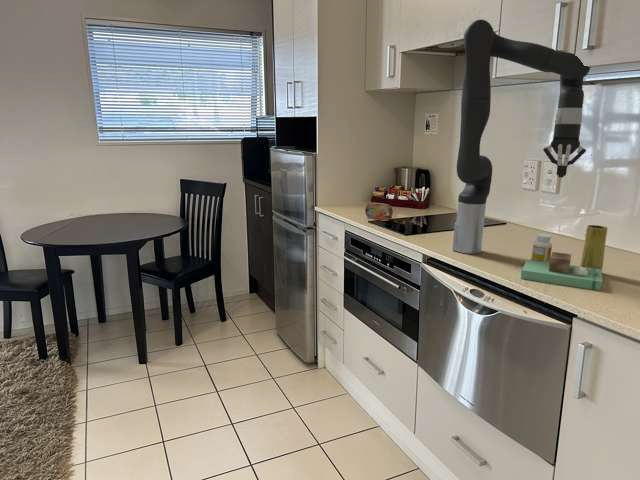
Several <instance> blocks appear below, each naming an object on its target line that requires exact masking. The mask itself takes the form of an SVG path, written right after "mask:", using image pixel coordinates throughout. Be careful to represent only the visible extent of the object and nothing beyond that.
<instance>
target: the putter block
mask: <svg viewBox="0 0 640 480" xmlns="http://www.w3.org/2000/svg"><path fill="white" fill-rule="evenodd" d="M571 260H572V254H571V253H564V252H558V251H557V252H556V251H551V258H550V265H549V271H550V272H557V273H564V274H568V273H569V267H570V265H571Z"/></svg>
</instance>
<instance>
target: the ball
mask: <svg viewBox="0 0 640 480" xmlns="http://www.w3.org/2000/svg"><path fill="white" fill-rule="evenodd" d="M572 273H573V274H578V275H588V271H587V270H586V269H585V268H584V267H576V268H575V269H574V270H573V272H572Z"/></svg>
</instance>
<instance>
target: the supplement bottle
mask: <svg viewBox="0 0 640 480" xmlns="http://www.w3.org/2000/svg"><path fill="white" fill-rule="evenodd" d="M551 238H552V237H551V235H549V234H543V233H540V234H539V233H538V234H536V240H535V241H533V243H532V244H533V245H532V251H531V252H532V253H531V259H530V260H536V261H543V262H550V258H551V255H552V251H553V250H552V248H553V244H552V242H550V241H551Z"/></svg>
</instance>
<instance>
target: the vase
mask: <svg viewBox="0 0 640 480" xmlns="http://www.w3.org/2000/svg"><path fill="white" fill-rule="evenodd" d="M585 231H586V233H585V237H584V238H585V239H584V245H583V250H582V256H581V262H580V267H587V268H595V269H601V272H602V273H603V266H604V260H605V257H604V256H605V250H606V249H605V248H606V240H607V235H608V227H607V226H604V225H598V224H597V225H595V224H590V225H587V227H586V230H585Z"/></svg>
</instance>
